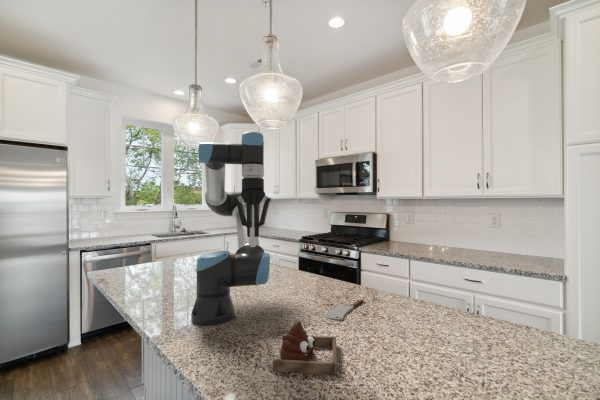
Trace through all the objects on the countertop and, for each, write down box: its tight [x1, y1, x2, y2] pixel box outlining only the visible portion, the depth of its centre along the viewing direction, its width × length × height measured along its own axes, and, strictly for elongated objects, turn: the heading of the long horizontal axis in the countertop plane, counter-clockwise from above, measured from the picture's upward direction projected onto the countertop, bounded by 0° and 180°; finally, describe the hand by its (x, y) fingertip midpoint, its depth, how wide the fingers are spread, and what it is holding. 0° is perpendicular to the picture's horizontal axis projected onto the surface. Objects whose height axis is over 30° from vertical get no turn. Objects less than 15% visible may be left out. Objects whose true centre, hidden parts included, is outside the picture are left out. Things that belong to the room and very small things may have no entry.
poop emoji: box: [279, 319, 315, 361], centre depth 79 cm, size 10×8×9 cm
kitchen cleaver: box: [321, 299, 364, 322], centre depth 114 cm, size 24×1×10 cm
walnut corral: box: [272, 333, 338, 376], centre depth 78 cm, size 16×15×2 cm
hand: (253, 246), depth 100 cm, fingers closed
